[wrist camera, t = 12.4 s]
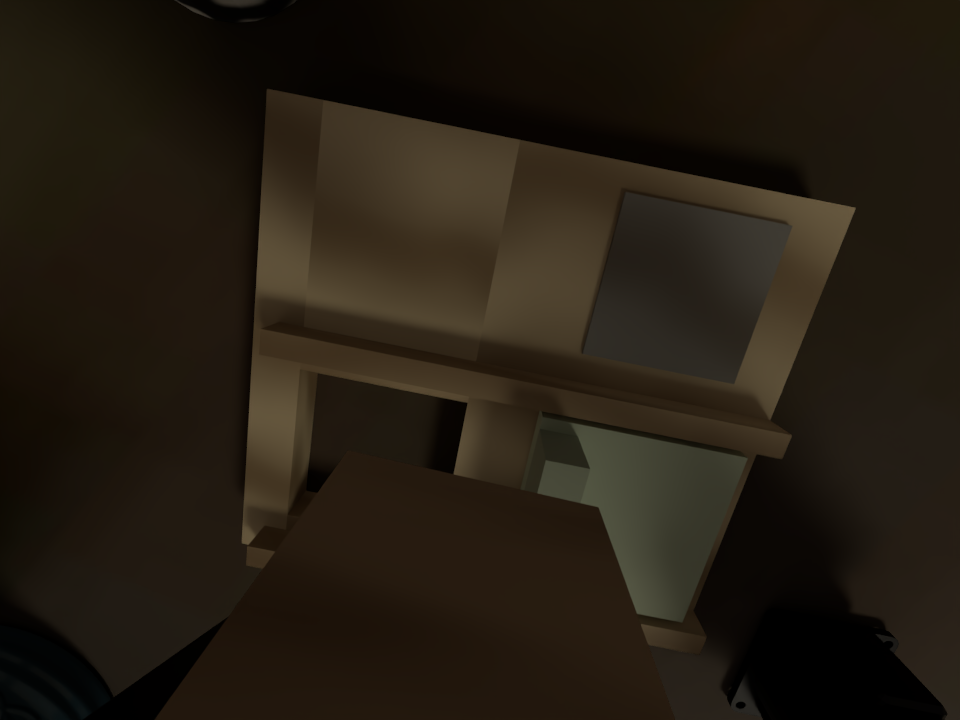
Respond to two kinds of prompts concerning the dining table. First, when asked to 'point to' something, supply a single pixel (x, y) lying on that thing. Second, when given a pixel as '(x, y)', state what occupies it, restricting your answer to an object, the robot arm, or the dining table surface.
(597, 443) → the lid
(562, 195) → the puzzle board
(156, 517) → the dining table surface
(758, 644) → the robot arm
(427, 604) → the walnut block
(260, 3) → the spotted tube
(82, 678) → the canister
